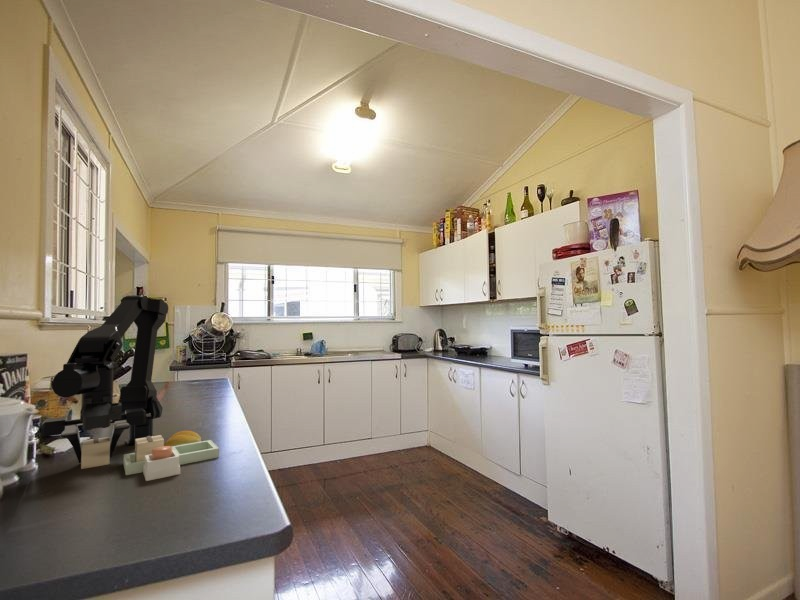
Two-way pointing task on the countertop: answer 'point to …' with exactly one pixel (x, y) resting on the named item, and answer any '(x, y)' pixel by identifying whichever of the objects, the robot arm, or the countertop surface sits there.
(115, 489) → the countertop surface
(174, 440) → the bread roll
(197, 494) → the countertop surface
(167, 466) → the button housing
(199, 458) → the pale green divided tray
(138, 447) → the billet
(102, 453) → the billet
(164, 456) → the button
